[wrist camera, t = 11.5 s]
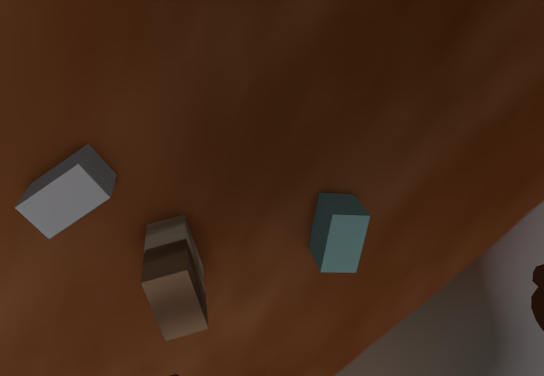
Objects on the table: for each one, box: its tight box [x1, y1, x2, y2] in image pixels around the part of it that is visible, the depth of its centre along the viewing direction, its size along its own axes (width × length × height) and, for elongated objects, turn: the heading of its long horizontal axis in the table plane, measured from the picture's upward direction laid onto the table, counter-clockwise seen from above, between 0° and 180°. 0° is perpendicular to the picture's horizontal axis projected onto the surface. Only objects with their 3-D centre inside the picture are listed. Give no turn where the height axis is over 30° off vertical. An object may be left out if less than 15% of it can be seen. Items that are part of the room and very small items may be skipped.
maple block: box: [144, 214, 205, 291], centre depth 42 cm, size 6×4×4 cm, turn 13°
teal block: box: [309, 193, 370, 273], centre depth 44 cm, size 6×4×4 cm, turn 172°
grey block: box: [15, 144, 117, 239], centre depth 38 cm, size 6×4×4 cm, turn 122°
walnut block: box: [141, 239, 209, 341], centre depth 38 cm, size 6×4×4 cm, turn 12°
